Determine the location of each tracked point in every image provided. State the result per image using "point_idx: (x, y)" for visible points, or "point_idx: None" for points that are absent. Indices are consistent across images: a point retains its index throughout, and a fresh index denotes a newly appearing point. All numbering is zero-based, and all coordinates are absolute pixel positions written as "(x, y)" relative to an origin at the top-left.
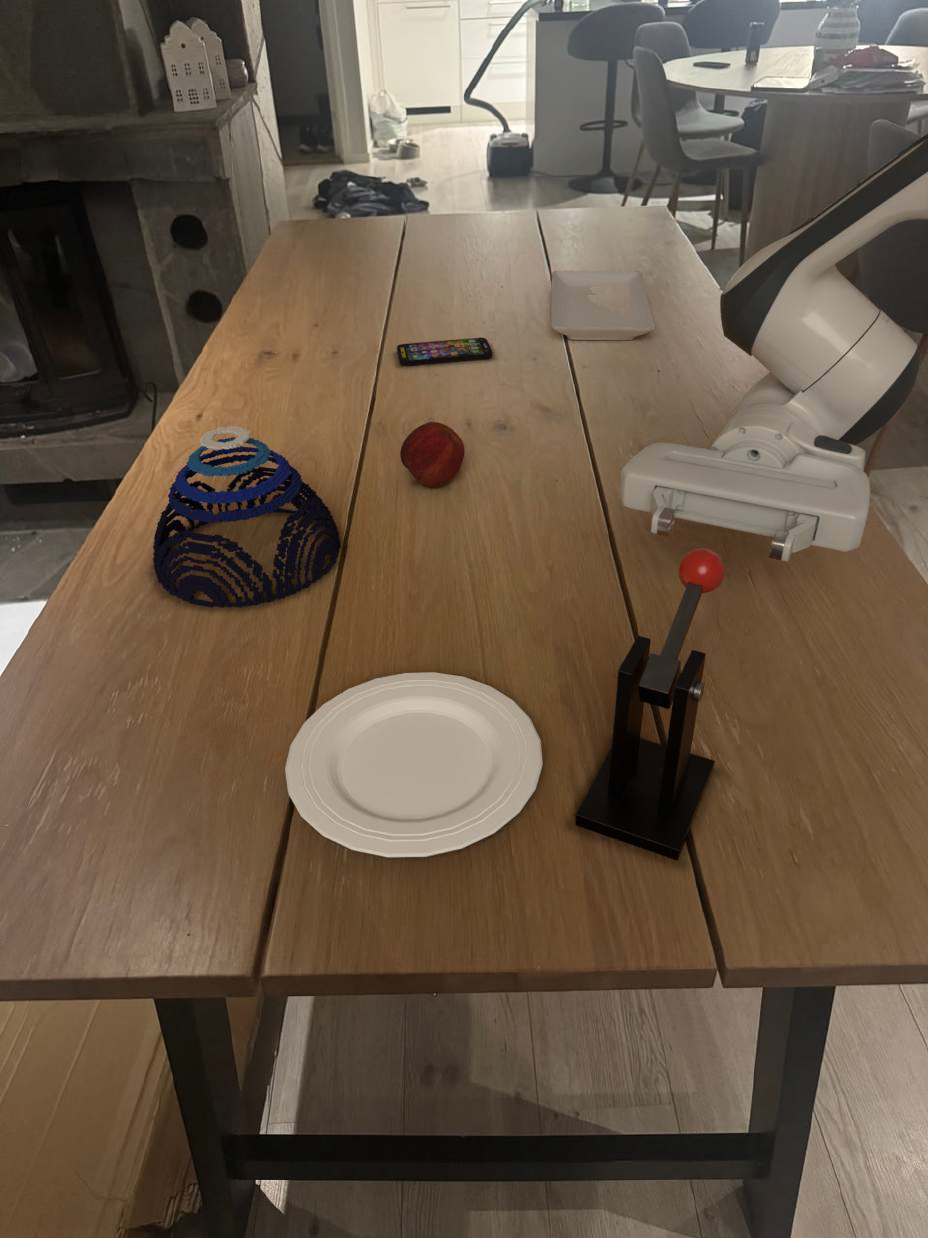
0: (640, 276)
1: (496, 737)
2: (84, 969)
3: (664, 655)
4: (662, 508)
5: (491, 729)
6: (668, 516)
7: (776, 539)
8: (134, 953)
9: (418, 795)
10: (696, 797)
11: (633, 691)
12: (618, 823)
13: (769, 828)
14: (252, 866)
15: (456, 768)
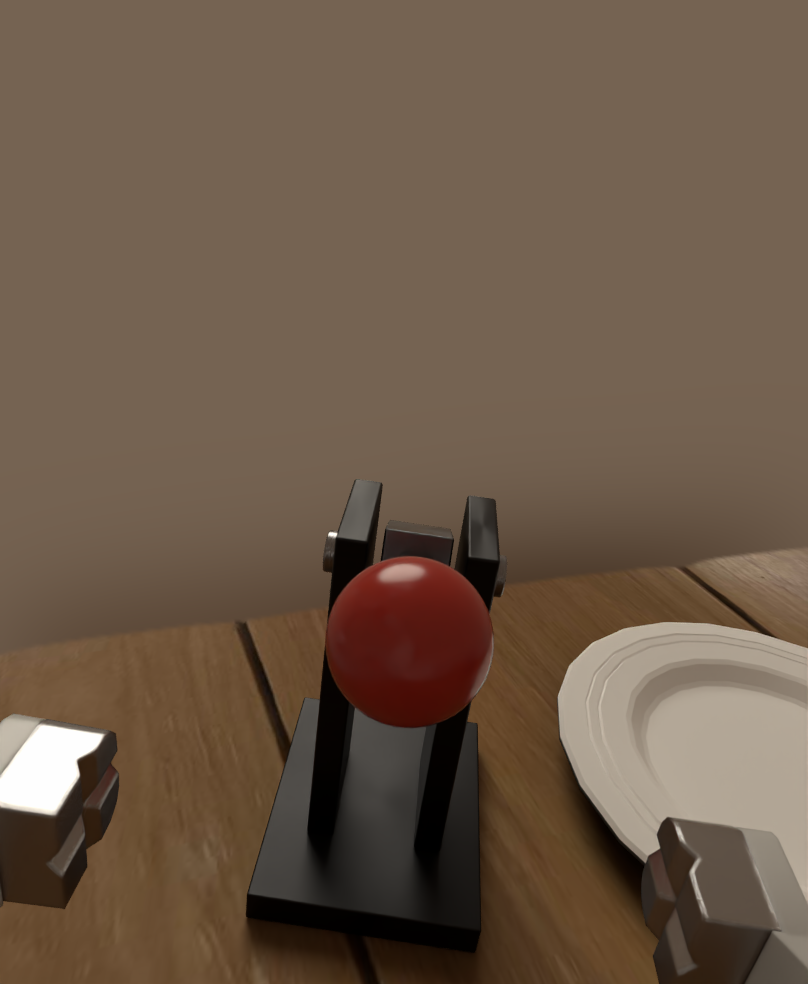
0: None
1: None
2: (799, 550)
3: (424, 557)
4: (781, 905)
5: None
6: (694, 830)
7: (84, 732)
8: (781, 562)
9: (717, 722)
10: (283, 791)
11: (457, 563)
12: None
13: (139, 802)
14: (793, 632)
15: (712, 778)
